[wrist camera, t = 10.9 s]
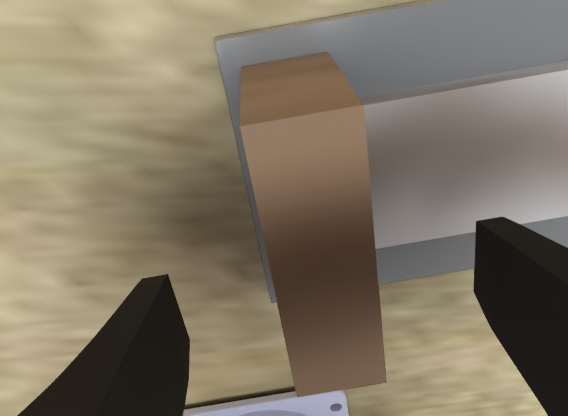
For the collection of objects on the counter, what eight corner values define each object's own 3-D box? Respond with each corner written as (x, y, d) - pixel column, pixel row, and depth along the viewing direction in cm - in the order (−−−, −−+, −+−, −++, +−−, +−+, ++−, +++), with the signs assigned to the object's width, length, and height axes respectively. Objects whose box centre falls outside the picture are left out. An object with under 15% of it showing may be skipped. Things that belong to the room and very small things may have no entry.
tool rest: (623, 232, 19) (634, 241, 18) (270, 292, 19) (271, 303, 19) (681, -46, 14) (697, -45, 14) (215, 37, 15) (214, 41, 14)
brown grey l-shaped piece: (619, 228, 18) (738, 323, 14) (284, 285, 18) (297, 397, 14) (667, -10, 14) (855, 18, 10) (240, 66, 14) (239, 126, 10)
